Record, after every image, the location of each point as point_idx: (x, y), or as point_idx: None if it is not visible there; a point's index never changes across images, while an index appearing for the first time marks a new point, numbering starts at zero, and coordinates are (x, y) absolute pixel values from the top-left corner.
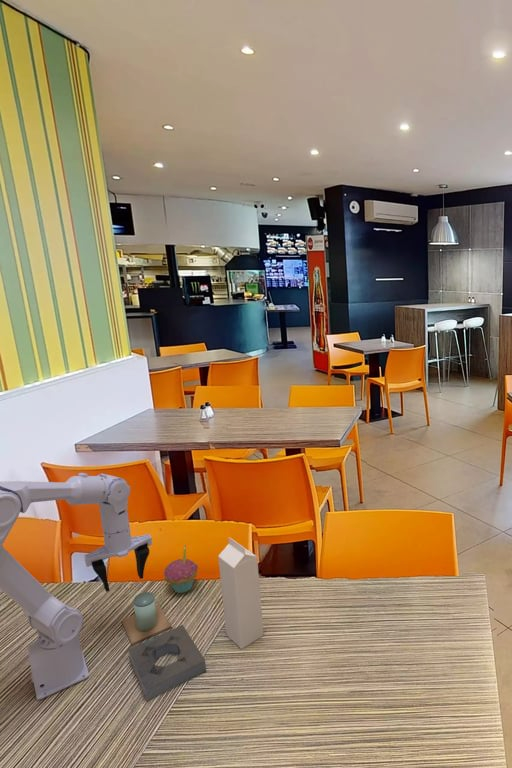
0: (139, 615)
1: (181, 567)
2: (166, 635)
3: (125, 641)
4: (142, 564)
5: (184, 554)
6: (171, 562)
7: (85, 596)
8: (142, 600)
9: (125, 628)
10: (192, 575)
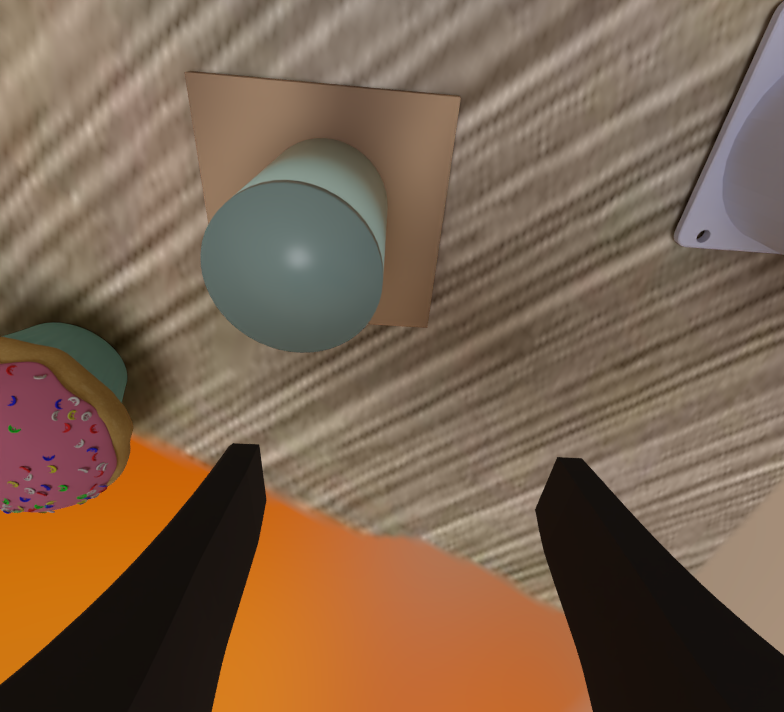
0: (369, 195)
1: None
2: None
3: (471, 167)
4: (145, 596)
5: None
6: (46, 509)
7: (477, 524)
8: (312, 262)
9: (436, 253)
10: None
